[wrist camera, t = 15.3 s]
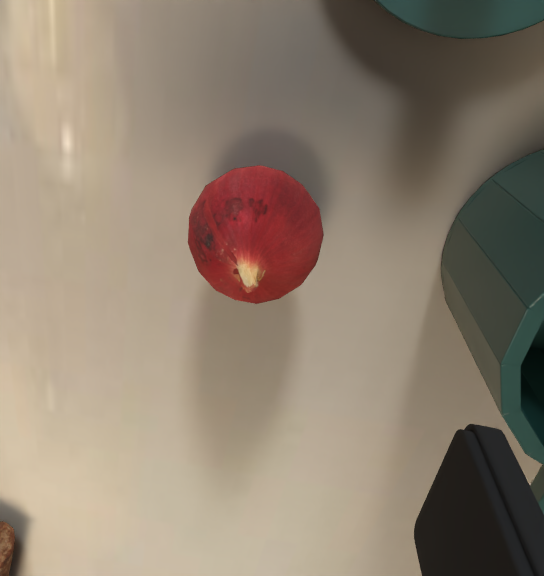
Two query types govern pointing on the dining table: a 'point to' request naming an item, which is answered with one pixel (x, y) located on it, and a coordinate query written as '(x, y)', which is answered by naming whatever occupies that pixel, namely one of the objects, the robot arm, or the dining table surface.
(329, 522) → the dining table surface
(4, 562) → the brown root vegetable
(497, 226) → the pot
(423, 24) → the pot lid
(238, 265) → the onion
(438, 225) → the dining table surface
